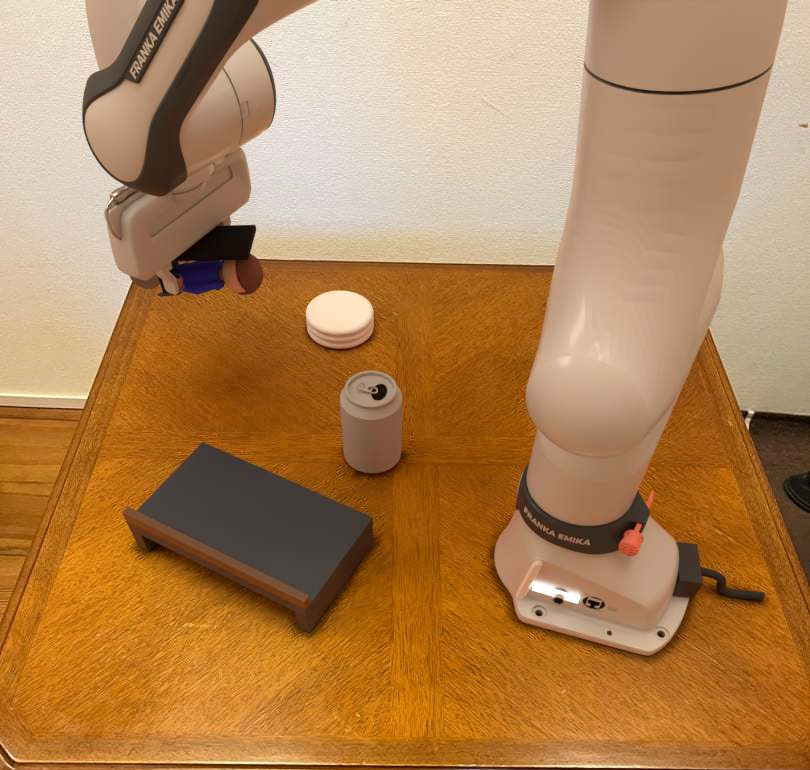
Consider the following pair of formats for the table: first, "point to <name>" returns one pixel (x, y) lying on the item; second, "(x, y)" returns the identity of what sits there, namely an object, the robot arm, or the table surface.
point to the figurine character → (216, 263)
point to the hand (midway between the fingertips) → (199, 271)
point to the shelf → (255, 530)
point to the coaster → (340, 319)
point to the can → (371, 421)
